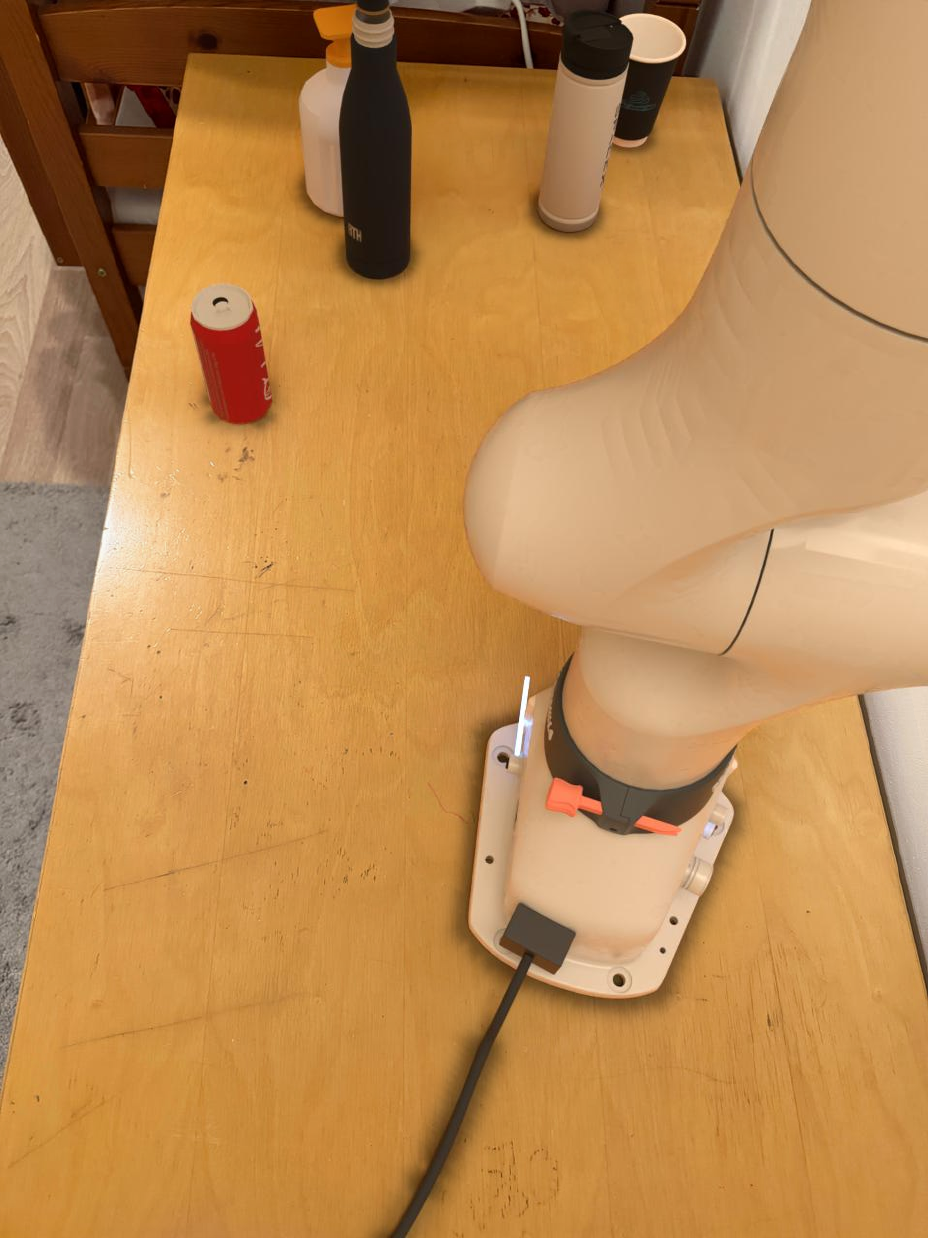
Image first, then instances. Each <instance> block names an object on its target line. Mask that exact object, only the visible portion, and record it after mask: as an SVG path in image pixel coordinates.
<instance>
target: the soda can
mask: <svg viewBox="0 0 928 1238" xmlns="http://www.w3.org/2000/svg"><path fill="white" fill-rule="evenodd" d="M189 325H190V329H191V333H192V337H193V340H194V345H195V349H196V352H197V353H196V354H197V356H198V360H199V365H200V369H201V373H202V377H203V381H204V385H205V389H206V393H207V397H208V401H209V404H210V406H211V409H212V411H213V413H214V414H215V415H216V416H217V417H219V419H221V420H223V421H225V422H228V423H232V424H248V423H252V422H254V421H256V420H259V419H260V418H262V417H264V416H265V415H266V414H267V412H268V410H269V409H270V407H271V405H272V403H273V397H272V392H271V390H272V389H271V385H270V379H269V374H268V367H267V360H266V355H265V354H266V353H265V349H264V343H263V337H262V331H261V324H260V319H259V314H258V309H257V307H256V305H255V303H254V301H253V299H252V297H251V295H250V293H249V292H248V291H247V290H246V289H245V288H243V287H241V286H239V285H236V284H233V283H226V282H225V283H215V284H211V285H208V286H206V287H203V288H202V289H200V290H199V291H198V292H197V293H196V294H195V295H194V296H193V298H192V302H191V304H190V321H189Z"/></svg>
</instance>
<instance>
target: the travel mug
mask: <svg viewBox="0 0 928 1238" xmlns="http://www.w3.org/2000/svg"><path fill="white" fill-rule="evenodd" d="M564 22H565V23H564V24H562V26H561V35H562V43H561V48H560V53H559V60H558V63H557V64H558V65H557V72H556V79H555V85H554V91H553V100H552V106H551V113H550V119H549V125H548V126H549V127H548V133H547V134H548V135H547V139H546V147H545V154H544V161H543V167H542V172H541V173H542V175H541V181H540V187H539V195H538V201H537V214H538V216H539V218H540V219H541V221H543V223H544V224H546V225H547V226H548V227H550V228H551V229H554V230H557V231H559V232H565V233H576V232H582V231H584V230H586V229H588V228H590V227H591V226H592V225H593V224H594V223H595V222H596V220H597V217H598V213H599V208H600V204H601V200H602V199H601V198H602V194H603V189H604V185H605V179H606V174H607V171H608V170H607V169H608V166H609V160H610V157H611V151H612V147H613V143H612V142H613V138H614V133H615V128H616V123H617V119H618V114H619V109H620V104H621V99H622V95H623V90H624V85H625V80H626V76H627V70H628V66H629V58H630V53H631V49H632V44H633V39H634V38H633V34H632V33H631V32H630V30H629V29H628V28H627V27H626V26H625V25H624V24H622V21H621V20H620V19H619V17H617V16H615V15H613V14H611V13H608V12H607V11H606V12H605V11H602V10H597V9H578V10H576V11H573V12H571V13H570V14H568V15H567V16H566V19H565V21H564Z"/></svg>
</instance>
